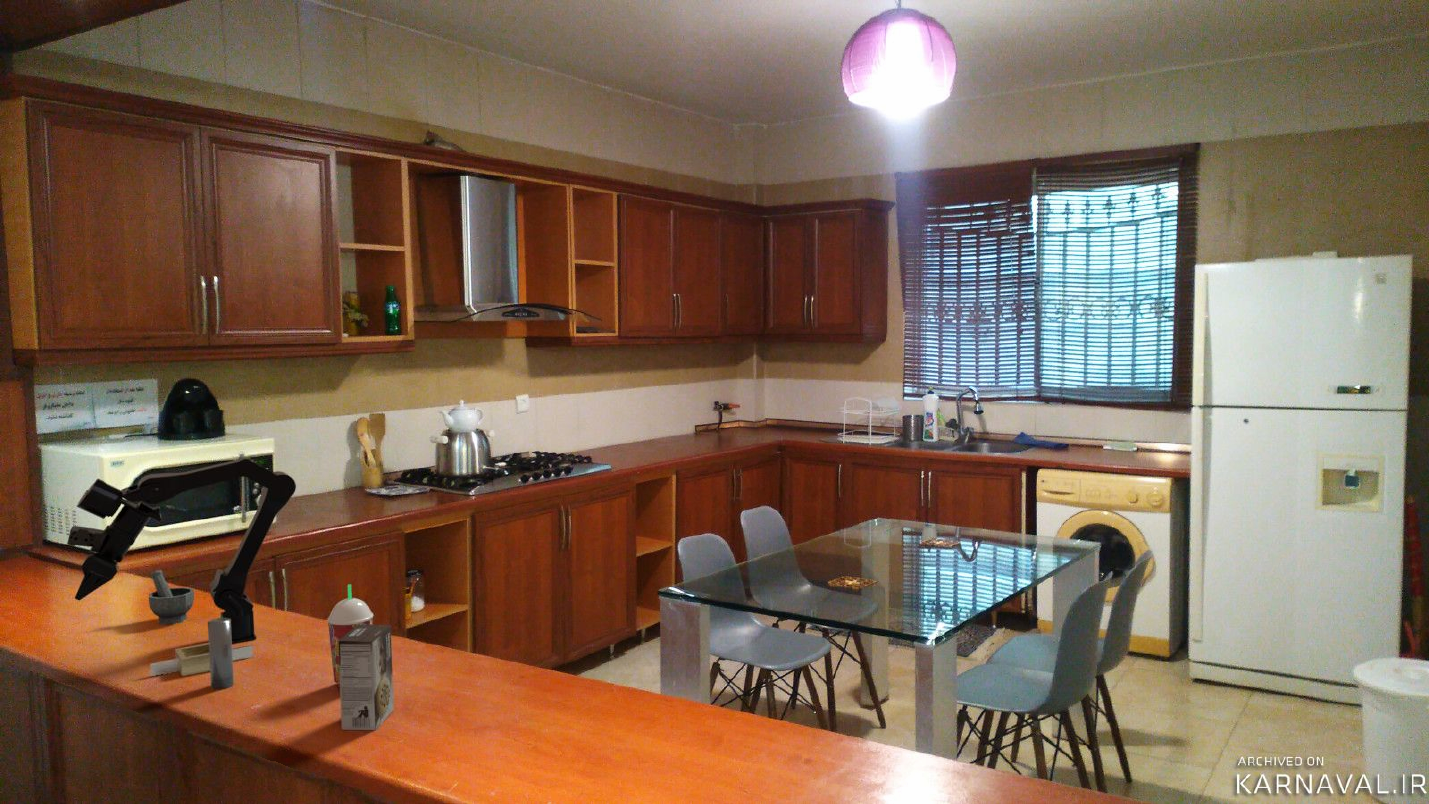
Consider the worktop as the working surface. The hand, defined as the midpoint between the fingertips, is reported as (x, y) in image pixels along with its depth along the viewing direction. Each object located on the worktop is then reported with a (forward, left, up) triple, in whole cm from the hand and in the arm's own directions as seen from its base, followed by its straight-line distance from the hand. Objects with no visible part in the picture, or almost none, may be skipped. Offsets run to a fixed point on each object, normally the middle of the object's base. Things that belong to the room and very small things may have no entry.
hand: (79, 593), depth 204 cm
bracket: (-19, +18, -15) cm, 30 cm away
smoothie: (-41, +48, -15) cm, 65 cm away
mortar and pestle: (-19, -22, -15) cm, 33 cm away
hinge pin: (-21, +33, -15) cm, 41 cm away
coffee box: (-38, +67, -15) cm, 79 cm away
